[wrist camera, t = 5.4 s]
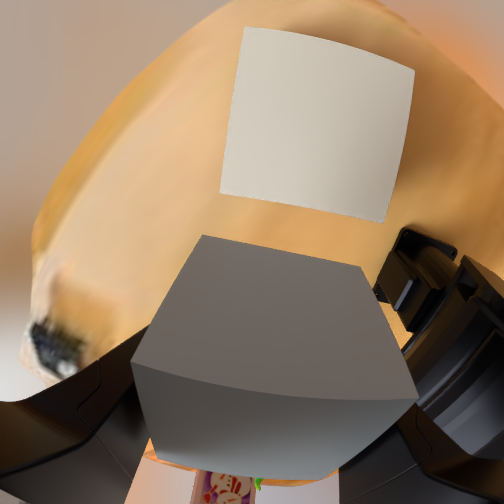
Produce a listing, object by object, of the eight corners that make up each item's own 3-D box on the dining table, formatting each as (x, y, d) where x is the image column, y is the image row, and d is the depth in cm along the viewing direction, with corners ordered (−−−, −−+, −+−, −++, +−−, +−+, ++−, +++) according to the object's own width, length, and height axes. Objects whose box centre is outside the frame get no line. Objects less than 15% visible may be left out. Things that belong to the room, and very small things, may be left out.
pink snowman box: (260, 463, 39) (255, 530, 26) (240, 470, 42) (232, 529, 29) (205, 447, 37) (191, 520, 24) (189, 455, 40) (175, 518, 27)
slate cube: (360, 266, 8) (419, 397, 4) (312, 369, 10) (321, 479, 6) (202, 234, 8) (130, 360, 4) (192, 348, 10) (157, 458, 6)
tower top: (396, 76, 12) (415, 70, 10) (369, 210, 16) (383, 223, 14) (249, 40, 12) (244, 26, 10) (226, 183, 16) (219, 193, 14)
